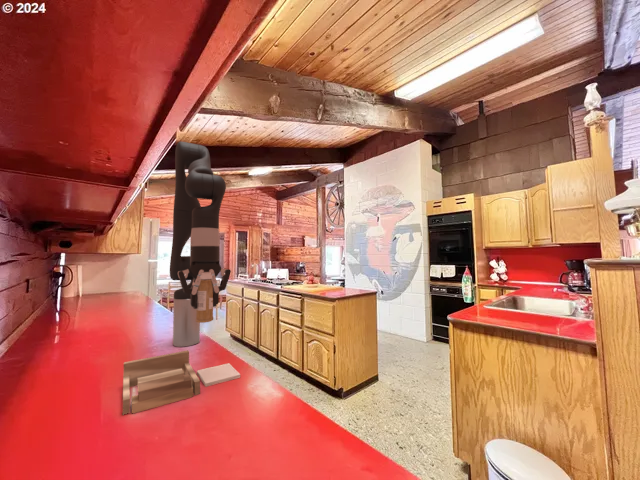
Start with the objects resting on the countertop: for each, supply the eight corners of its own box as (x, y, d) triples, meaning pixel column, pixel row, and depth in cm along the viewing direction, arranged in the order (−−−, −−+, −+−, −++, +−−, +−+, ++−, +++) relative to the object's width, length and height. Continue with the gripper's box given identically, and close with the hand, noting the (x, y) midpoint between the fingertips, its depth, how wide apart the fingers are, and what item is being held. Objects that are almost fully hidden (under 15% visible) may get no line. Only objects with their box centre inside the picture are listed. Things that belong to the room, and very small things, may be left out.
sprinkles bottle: (216, 320, 76) (217, 271, 77) (200, 324, 73) (201, 272, 73) (207, 318, 79) (208, 271, 80) (192, 321, 76) (192, 272, 76)
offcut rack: (123, 386, 71) (123, 362, 71) (187, 371, 80) (188, 350, 80) (122, 416, 58) (123, 386, 58) (200, 394, 66) (200, 368, 67)
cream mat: (197, 373, 78) (197, 370, 78) (229, 365, 84) (229, 363, 84) (205, 386, 70) (205, 383, 70) (240, 377, 75) (240, 374, 75)
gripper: (227, 245, 84) (227, 302, 83) (174, 245, 76) (173, 308, 75) (235, 244, 78) (234, 306, 77) (178, 244, 70) (177, 312, 69)
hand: (204, 307), depth 76 cm, fingers closed on sprinkles bottle, 4 cm apart
